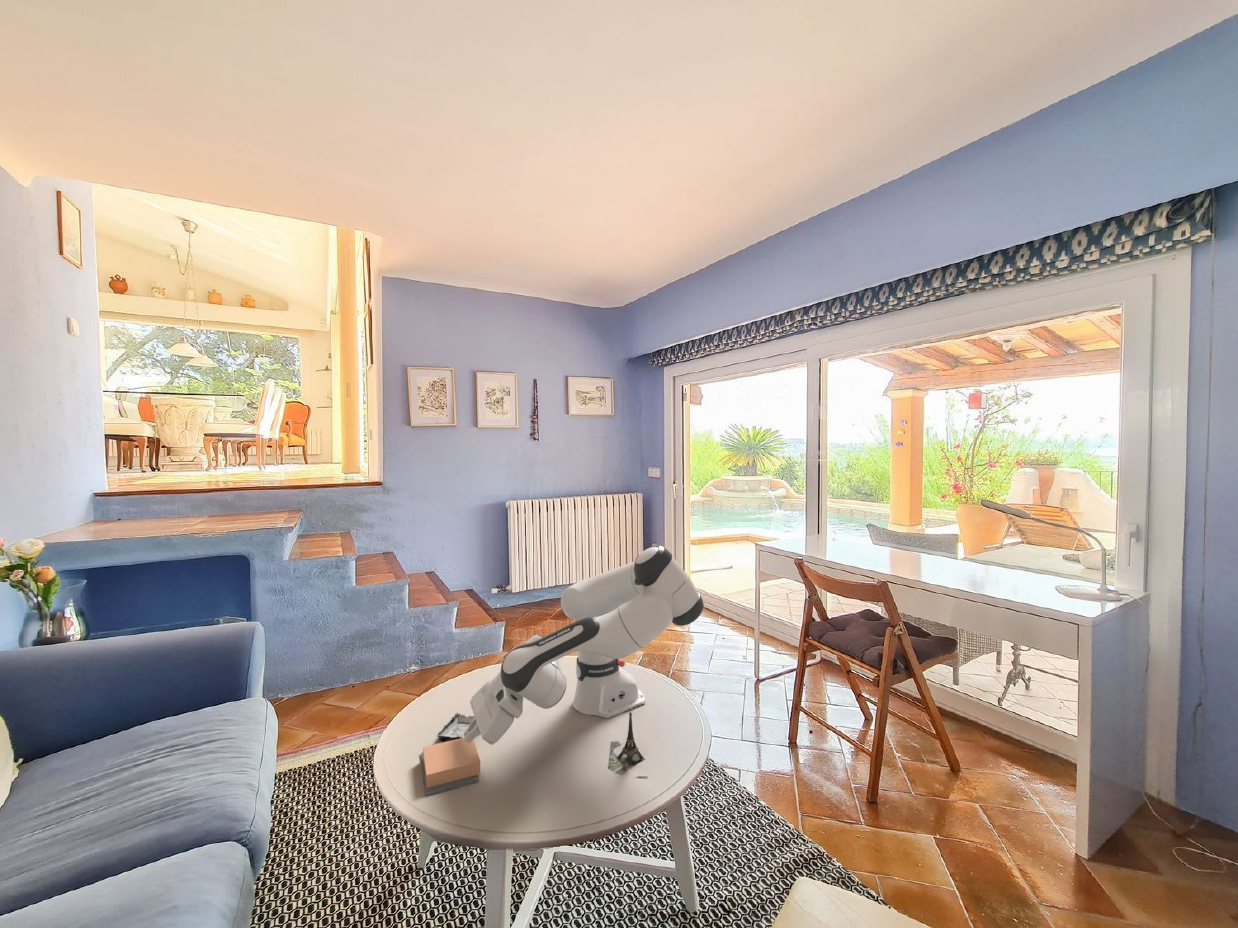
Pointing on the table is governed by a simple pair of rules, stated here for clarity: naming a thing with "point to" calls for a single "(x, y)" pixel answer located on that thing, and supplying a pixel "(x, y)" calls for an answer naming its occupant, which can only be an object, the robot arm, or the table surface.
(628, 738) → the eiffel tower figurine
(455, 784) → the mat
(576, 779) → the table surface
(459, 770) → the orange block
